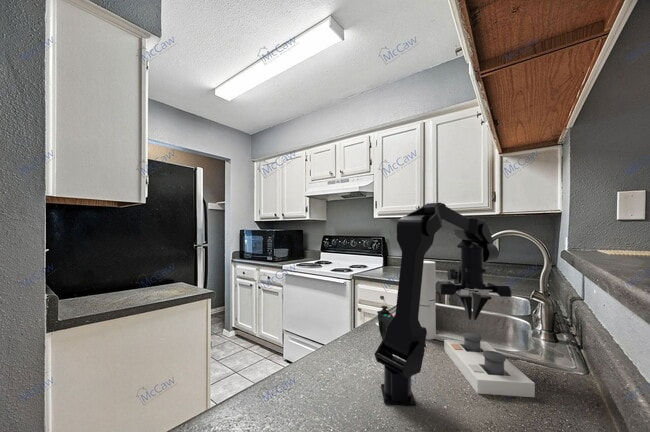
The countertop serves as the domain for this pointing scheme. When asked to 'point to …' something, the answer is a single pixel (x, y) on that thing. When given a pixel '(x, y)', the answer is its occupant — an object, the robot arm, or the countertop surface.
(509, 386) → the panel
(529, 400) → the countertop surface
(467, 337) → the far button
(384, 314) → the controller
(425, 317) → the cylindrical container
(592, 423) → the countertop surface
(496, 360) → the near button
